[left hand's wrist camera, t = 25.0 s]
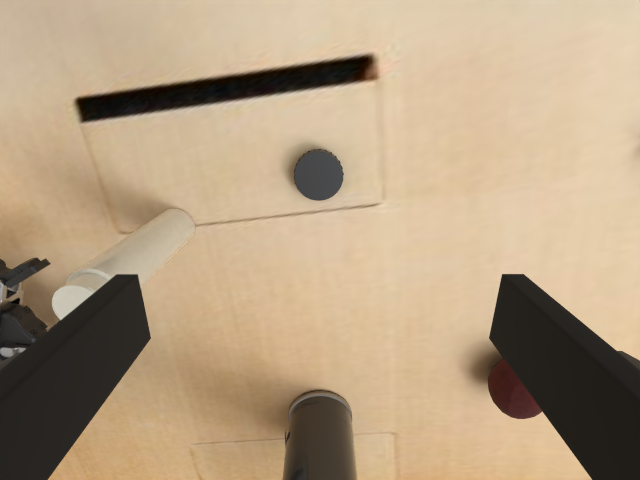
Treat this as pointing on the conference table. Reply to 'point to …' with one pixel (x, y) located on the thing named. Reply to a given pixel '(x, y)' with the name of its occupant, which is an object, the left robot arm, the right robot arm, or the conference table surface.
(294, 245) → the conference table surface
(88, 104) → the conference table surface
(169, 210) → the white cylindrical bottle
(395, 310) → the conference table surface
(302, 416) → the right robot arm
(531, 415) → the dark red ball
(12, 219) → the conference table surface
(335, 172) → the lid
